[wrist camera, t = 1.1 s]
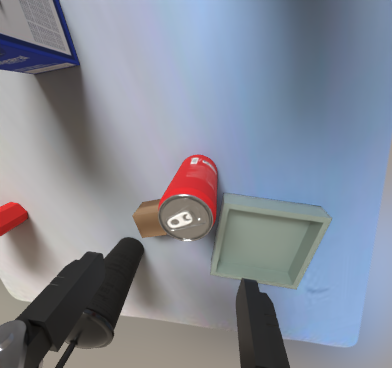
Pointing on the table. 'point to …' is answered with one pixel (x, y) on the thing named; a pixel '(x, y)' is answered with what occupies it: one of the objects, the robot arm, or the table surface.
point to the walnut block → (148, 219)
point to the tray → (266, 239)
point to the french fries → (11, 216)
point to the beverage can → (190, 200)
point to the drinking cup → (106, 300)
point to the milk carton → (34, 37)
